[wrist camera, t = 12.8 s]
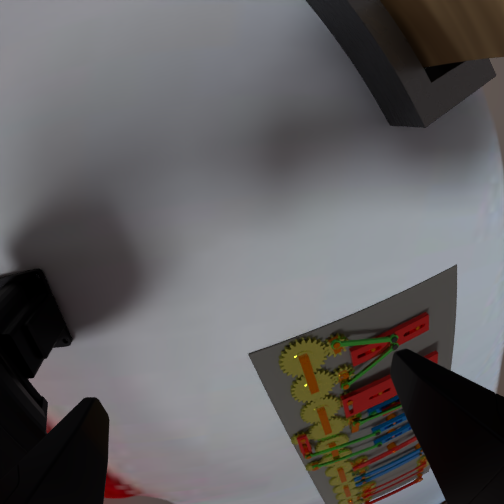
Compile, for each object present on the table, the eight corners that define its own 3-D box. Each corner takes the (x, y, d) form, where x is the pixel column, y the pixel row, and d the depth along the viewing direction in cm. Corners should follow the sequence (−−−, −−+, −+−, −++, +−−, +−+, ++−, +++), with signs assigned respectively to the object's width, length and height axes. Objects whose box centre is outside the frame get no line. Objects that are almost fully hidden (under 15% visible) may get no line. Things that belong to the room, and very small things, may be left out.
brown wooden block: (397, 73, 17) (557, 54, 5) (358, 12, 16) (495, -61, 4) (423, 58, 17) (573, 40, 5) (387, 0, 15) (520, -60, 3)
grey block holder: (390, 125, 19) (425, 127, 15) (301, -6, 15) (321, -31, 11) (461, 77, 18) (496, 75, 14) (388, -37, 14) (416, -57, 10)
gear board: (252, 370, 22) (469, 272, 22) (247, 349, 24) (452, 261, 24) (334, 522, 39) (432, 478, 39) (330, 512, 41) (427, 468, 41)
